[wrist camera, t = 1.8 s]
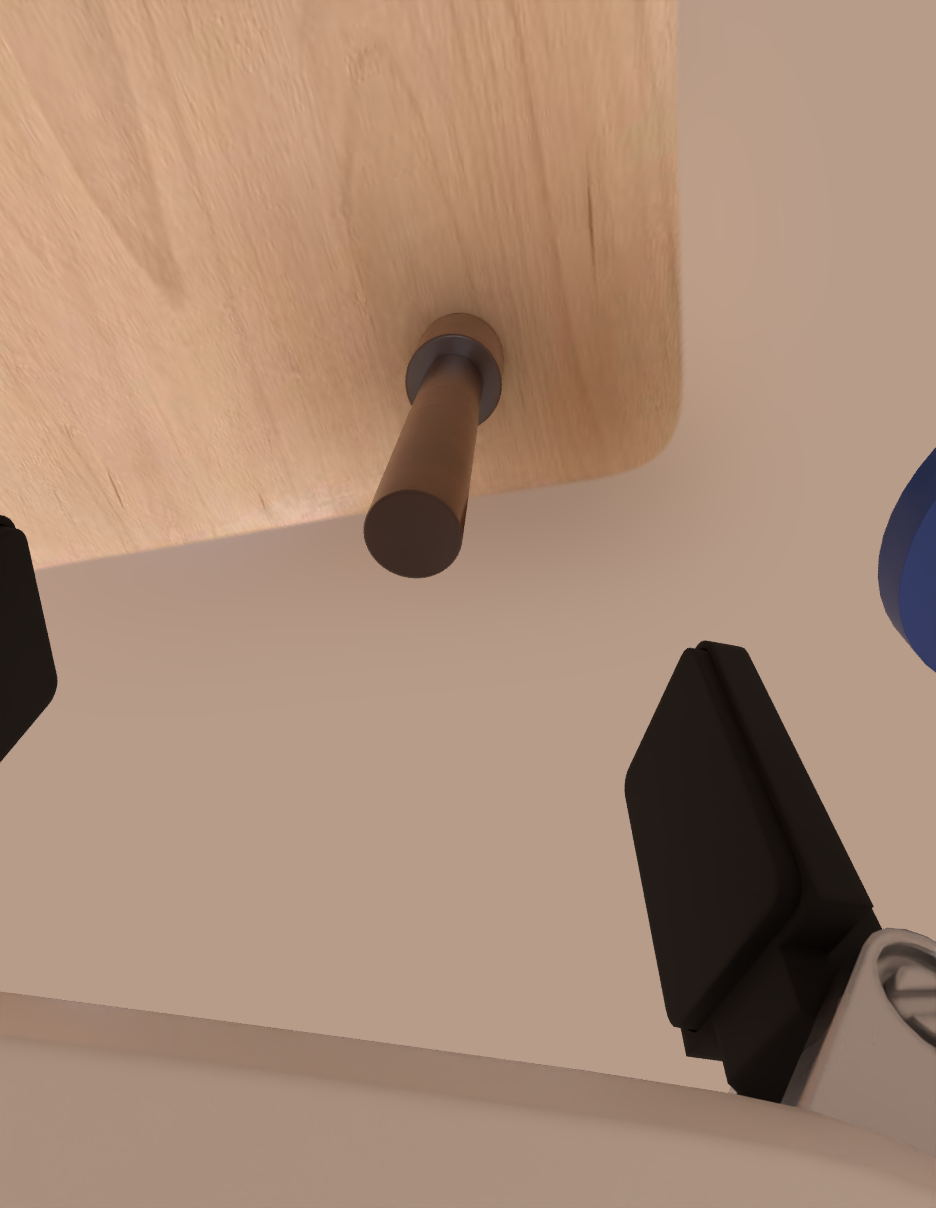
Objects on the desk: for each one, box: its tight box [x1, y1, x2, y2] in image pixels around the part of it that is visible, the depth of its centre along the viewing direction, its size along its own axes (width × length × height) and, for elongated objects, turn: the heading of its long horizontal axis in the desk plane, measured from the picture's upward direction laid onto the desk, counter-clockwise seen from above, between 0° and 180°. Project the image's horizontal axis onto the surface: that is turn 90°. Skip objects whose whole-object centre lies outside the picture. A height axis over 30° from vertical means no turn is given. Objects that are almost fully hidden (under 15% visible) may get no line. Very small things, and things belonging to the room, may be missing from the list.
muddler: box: [364, 313, 503, 578], centre depth 21 cm, size 4×4×16 cm
